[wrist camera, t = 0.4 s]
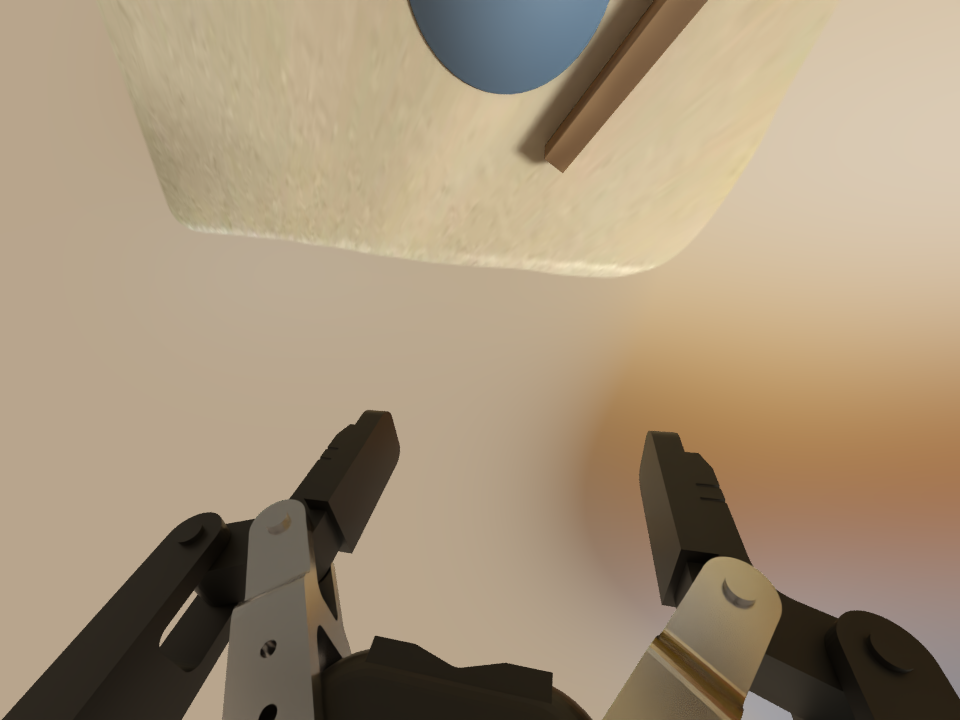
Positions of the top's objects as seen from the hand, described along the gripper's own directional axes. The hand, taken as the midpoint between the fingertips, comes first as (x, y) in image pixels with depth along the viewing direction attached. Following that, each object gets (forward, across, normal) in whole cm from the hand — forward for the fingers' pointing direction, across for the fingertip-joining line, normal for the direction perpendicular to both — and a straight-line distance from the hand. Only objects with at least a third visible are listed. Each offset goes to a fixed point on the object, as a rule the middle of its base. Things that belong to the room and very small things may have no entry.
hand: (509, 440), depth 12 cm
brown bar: (+28, -5, -11) cm, 30 cm away
